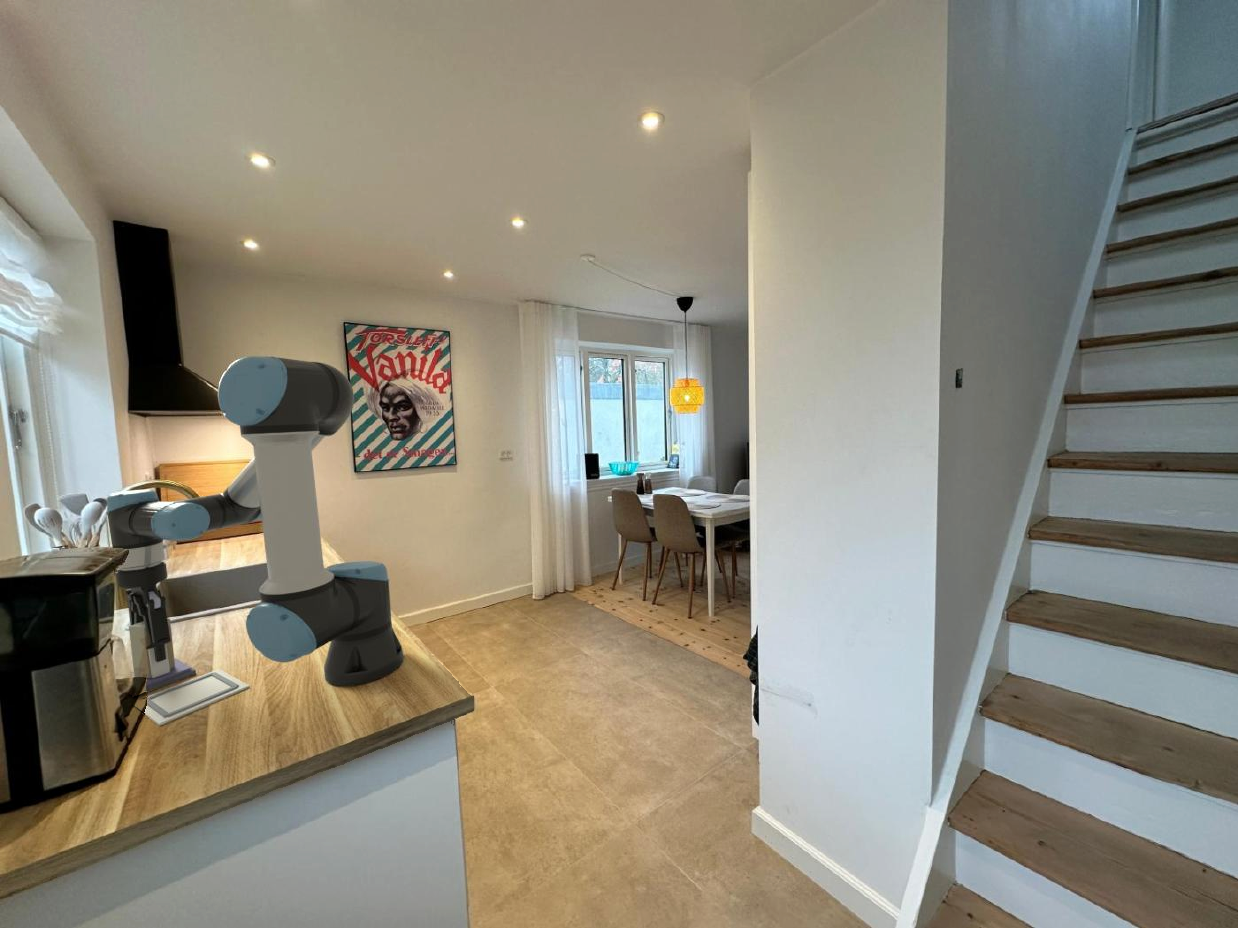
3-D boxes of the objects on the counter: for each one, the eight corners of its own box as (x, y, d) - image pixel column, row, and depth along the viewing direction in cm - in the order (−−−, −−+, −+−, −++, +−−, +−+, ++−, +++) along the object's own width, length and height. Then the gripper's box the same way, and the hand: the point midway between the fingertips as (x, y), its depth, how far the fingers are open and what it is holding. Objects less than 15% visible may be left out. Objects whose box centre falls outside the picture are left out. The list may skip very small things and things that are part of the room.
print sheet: (249, 687, 99) (249, 683, 99) (159, 725, 87) (158, 722, 87) (218, 670, 107) (218, 667, 106) (131, 704, 95) (131, 701, 95)
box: (149, 679, 101) (142, 627, 100) (133, 677, 102) (126, 626, 100) (177, 666, 106) (170, 617, 105) (161, 664, 107) (155, 615, 106)
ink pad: (195, 673, 106) (195, 666, 105) (133, 697, 97) (132, 689, 97) (177, 663, 111) (176, 656, 110) (116, 684, 102) (115, 677, 102)
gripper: (182, 566, 100) (195, 673, 102) (147, 554, 109) (160, 652, 112) (132, 577, 93) (148, 691, 96) (100, 563, 103) (115, 667, 105)
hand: (154, 670), depth 104 cm, fingers open, 6 cm apart
